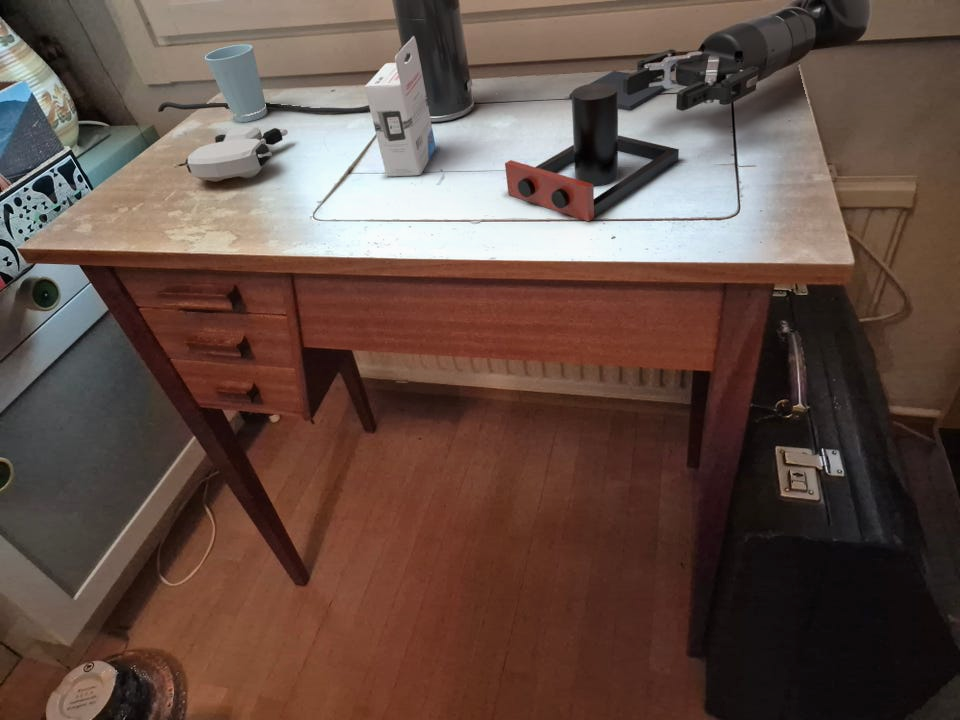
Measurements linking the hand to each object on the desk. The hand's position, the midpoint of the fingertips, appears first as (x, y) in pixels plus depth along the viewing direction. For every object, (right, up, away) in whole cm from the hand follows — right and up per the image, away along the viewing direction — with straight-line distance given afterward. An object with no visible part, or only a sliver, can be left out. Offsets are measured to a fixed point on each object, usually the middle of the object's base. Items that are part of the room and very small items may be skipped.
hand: (651, 94), depth 77 cm
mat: (+1, +9, +21) cm, 23 cm away
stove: (-6, -9, +1) cm, 11 cm away
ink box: (-29, -5, +12) cm, 32 cm away
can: (-6, -9, +1) cm, 11 cm away
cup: (-59, +10, +36) cm, 70 cm away
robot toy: (-54, -3, +18) cm, 57 cm away
